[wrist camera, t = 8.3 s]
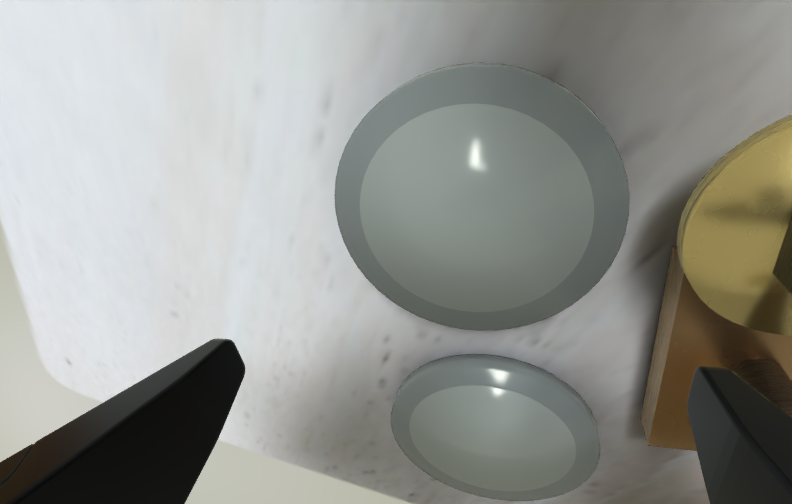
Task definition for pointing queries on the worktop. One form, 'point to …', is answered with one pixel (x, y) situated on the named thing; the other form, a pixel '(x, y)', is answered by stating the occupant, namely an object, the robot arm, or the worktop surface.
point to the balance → (728, 286)
